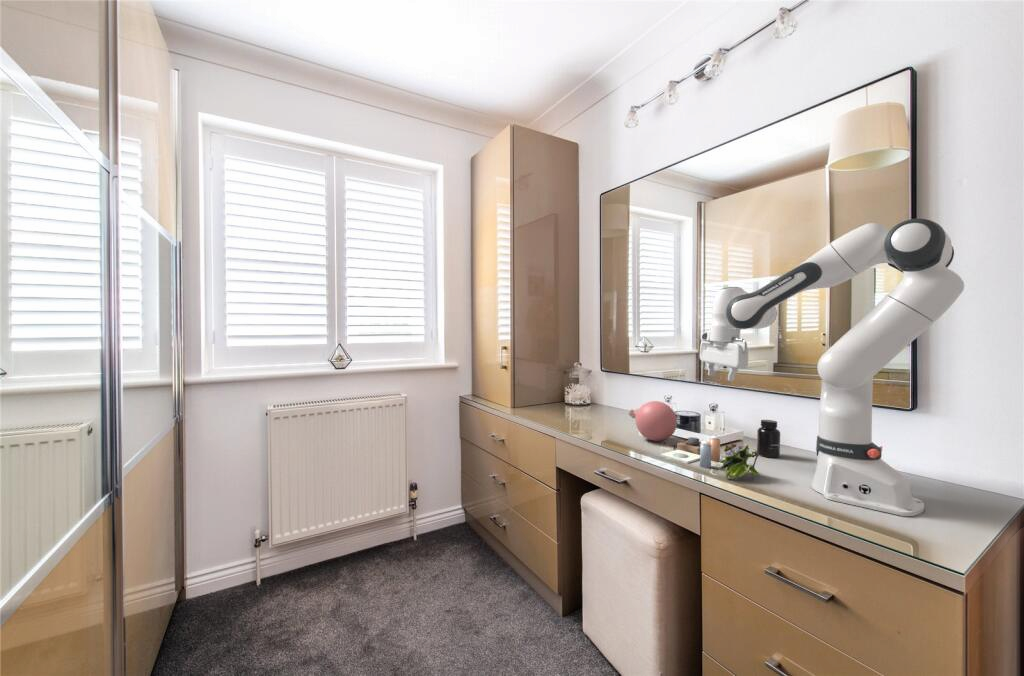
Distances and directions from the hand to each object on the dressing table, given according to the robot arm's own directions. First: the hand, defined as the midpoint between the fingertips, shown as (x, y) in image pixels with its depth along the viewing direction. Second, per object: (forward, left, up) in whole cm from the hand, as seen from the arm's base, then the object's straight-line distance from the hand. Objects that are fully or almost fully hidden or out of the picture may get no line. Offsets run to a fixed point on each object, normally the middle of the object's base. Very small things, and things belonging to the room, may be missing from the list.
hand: (720, 378), depth 139 cm
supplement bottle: (-7, -19, -28) cm, 34 cm away
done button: (+11, -3, -26) cm, 28 cm away
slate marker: (-1, +10, -27) cm, 29 cm away
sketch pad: (+9, +7, -27) cm, 30 cm away
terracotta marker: (+1, +1, -27) cm, 27 cm away
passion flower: (-12, +10, -28) cm, 32 cm away
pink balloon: (+30, -4, -28) cm, 41 cm away
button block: (+11, -3, -27) cm, 30 cm away
